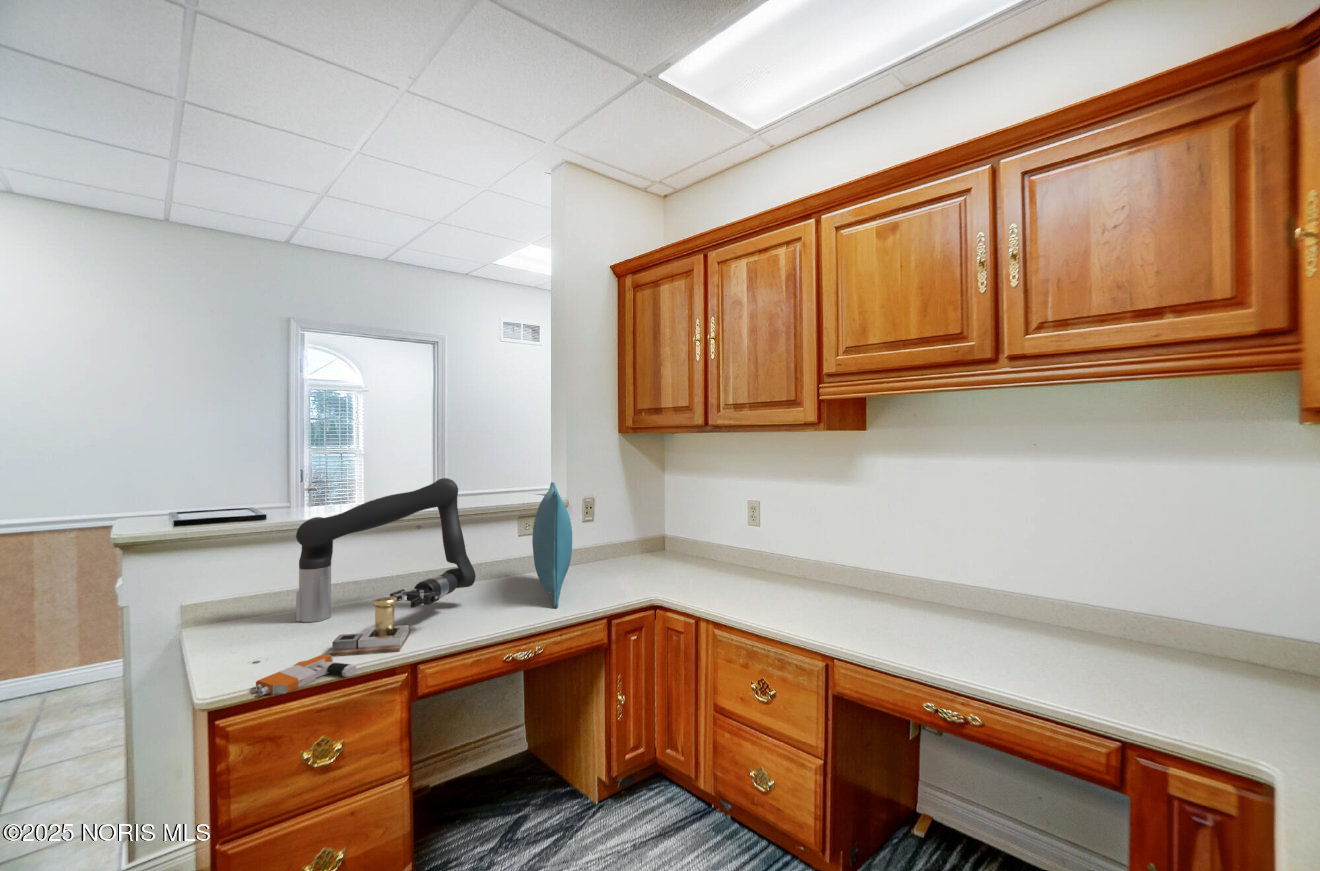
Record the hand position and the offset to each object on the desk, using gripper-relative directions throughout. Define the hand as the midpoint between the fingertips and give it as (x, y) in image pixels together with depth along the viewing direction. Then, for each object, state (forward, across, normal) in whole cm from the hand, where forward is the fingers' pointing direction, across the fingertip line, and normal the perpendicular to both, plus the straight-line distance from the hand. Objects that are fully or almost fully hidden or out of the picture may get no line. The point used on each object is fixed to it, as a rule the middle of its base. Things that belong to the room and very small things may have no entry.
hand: (399, 603), depth 175 cm
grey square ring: (+13, -7, +10) cm, 18 cm away
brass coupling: (+6, 0, +9) cm, 11 cm away
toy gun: (+33, -2, +11) cm, 35 cm away
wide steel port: (+7, 0, +10) cm, 12 cm away
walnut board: (+8, -3, +10) cm, 13 cm away
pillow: (-57, +25, +10) cm, 63 cm away
